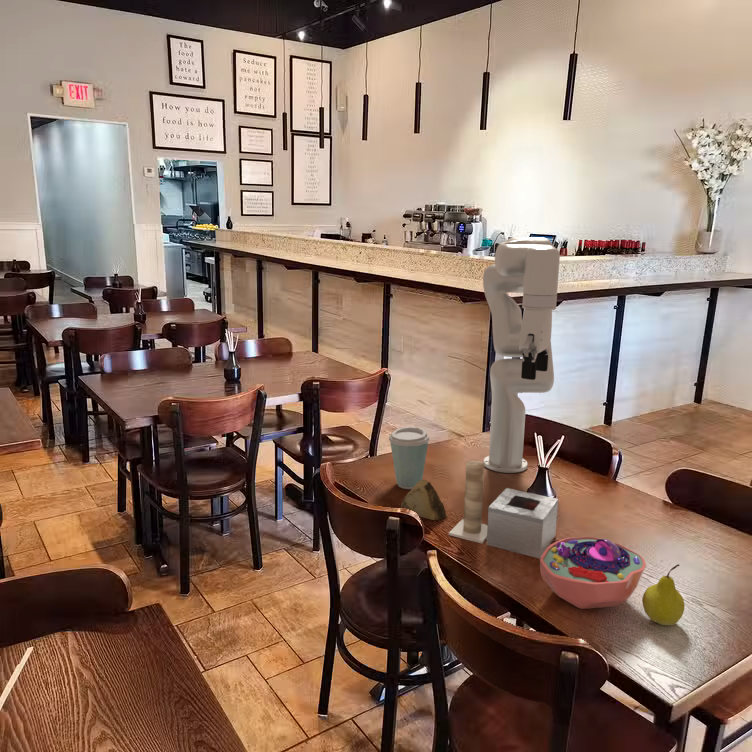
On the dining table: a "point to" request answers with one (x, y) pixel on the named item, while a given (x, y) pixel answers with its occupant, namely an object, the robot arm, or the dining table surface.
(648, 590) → the fruit
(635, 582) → the cell model
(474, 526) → the beige segmented cylinder
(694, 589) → the dining table surface
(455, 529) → the mat
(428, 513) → the rock
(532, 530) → the grey square box
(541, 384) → the robot arm
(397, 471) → the disposable coffee cup
